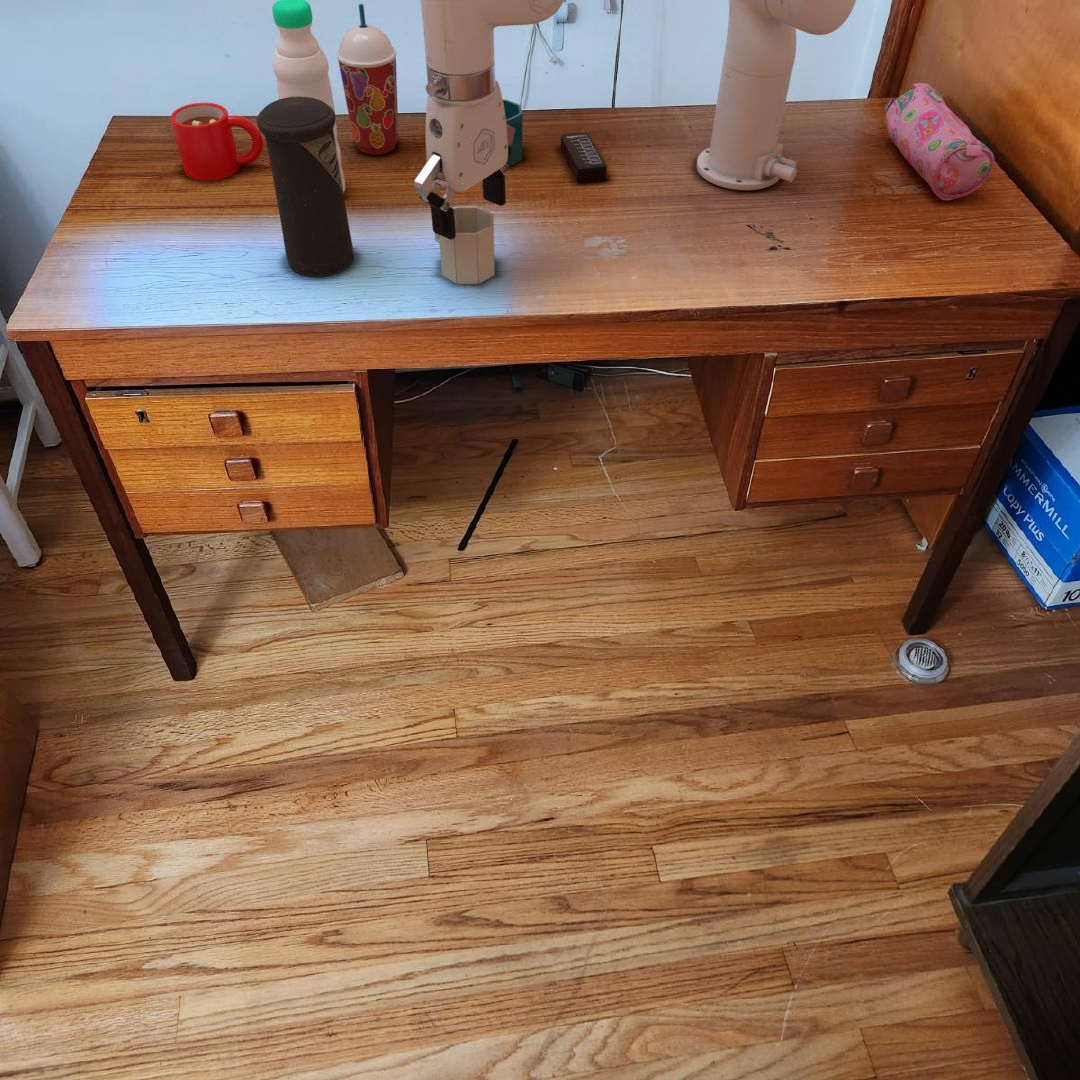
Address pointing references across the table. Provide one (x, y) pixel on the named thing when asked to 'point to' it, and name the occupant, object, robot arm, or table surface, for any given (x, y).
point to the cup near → (469, 247)
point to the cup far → (515, 121)
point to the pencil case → (937, 143)
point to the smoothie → (370, 87)
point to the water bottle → (301, 59)
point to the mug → (211, 141)
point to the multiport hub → (583, 157)
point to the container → (307, 184)
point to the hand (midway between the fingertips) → (469, 218)
